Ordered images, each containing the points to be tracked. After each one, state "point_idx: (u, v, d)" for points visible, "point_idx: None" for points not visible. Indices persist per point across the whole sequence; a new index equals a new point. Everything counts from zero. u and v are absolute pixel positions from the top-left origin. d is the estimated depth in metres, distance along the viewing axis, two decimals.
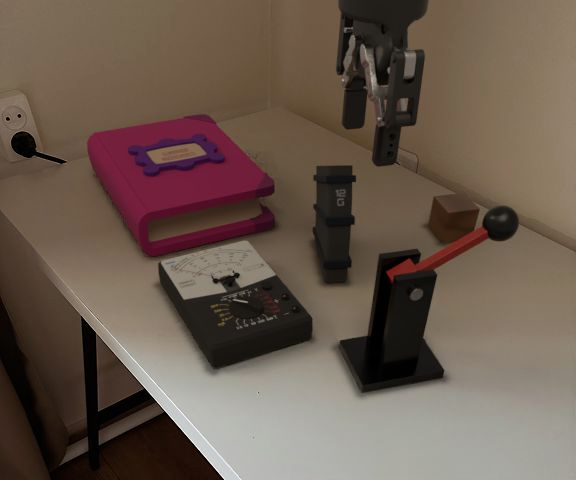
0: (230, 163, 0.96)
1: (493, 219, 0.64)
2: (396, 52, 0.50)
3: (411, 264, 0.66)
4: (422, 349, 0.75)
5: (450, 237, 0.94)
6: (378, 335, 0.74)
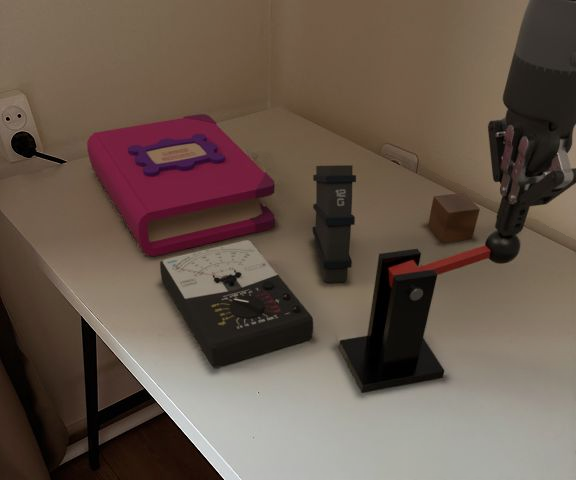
0: (230, 163, 0.96)
1: (499, 239, 0.66)
2: (557, 176, 0.55)
3: (414, 265, 0.66)
4: (422, 349, 0.75)
5: (450, 237, 0.94)
6: (378, 335, 0.74)
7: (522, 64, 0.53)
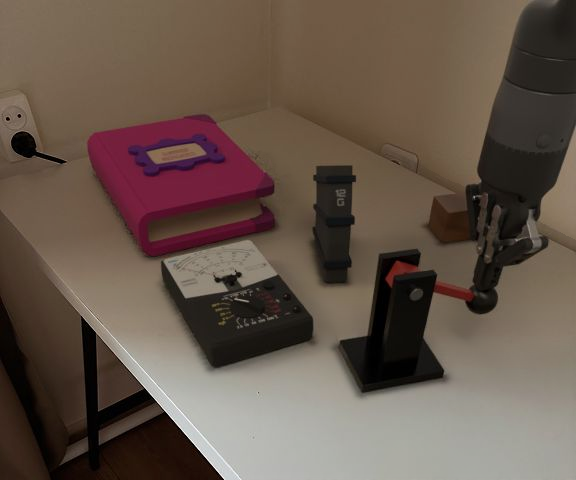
0: (230, 163, 0.96)
1: None
2: (526, 244, 0.60)
3: None
4: (422, 349, 0.75)
5: (450, 237, 0.94)
6: (378, 335, 0.74)
7: (493, 143, 0.58)
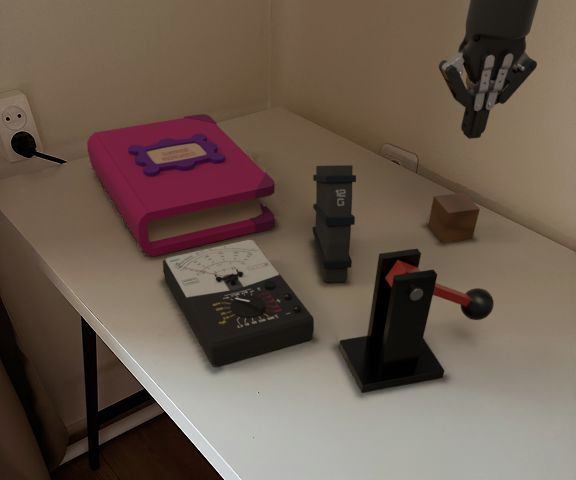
0: (230, 163, 0.96)
1: (483, 295, 0.71)
2: (440, 62, 0.77)
3: None
4: (422, 349, 0.75)
5: (450, 237, 0.94)
6: (378, 335, 0.74)
7: None
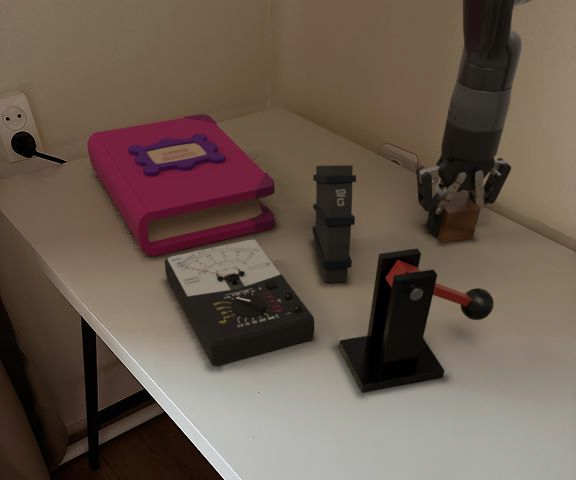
0: (230, 163, 0.96)
1: (483, 295, 0.71)
2: (419, 167, 0.88)
3: None
4: (422, 349, 0.75)
5: (450, 237, 0.94)
6: (378, 335, 0.74)
7: None
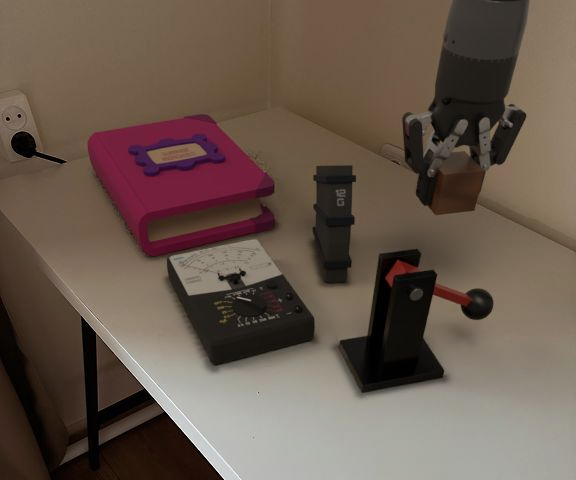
0: (230, 163, 0.96)
1: (483, 295, 0.71)
2: (406, 113, 0.67)
3: None
4: (422, 349, 0.75)
5: (446, 208, 0.73)
6: (378, 335, 0.74)
7: None
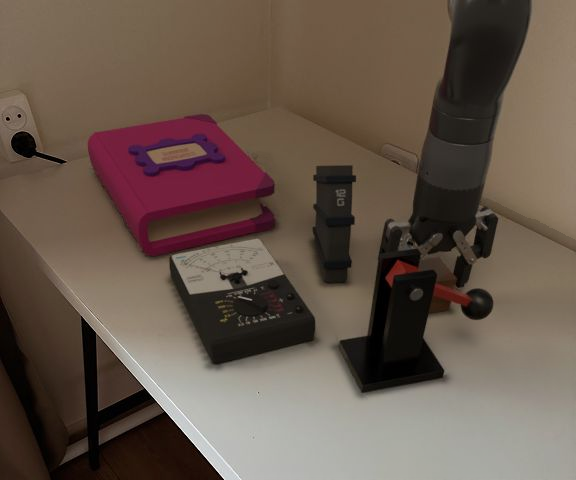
0: (230, 163, 0.96)
1: (483, 295, 0.71)
2: (389, 219, 0.75)
3: None
4: (422, 349, 0.75)
5: None
6: (378, 335, 0.74)
7: None
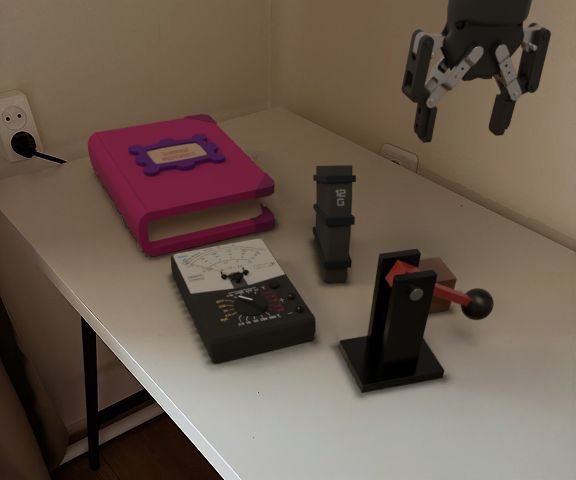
0: (230, 163, 0.96)
1: (483, 295, 0.71)
2: (418, 30, 0.60)
3: None
4: (422, 349, 0.75)
5: None
6: (378, 335, 0.74)
7: None
